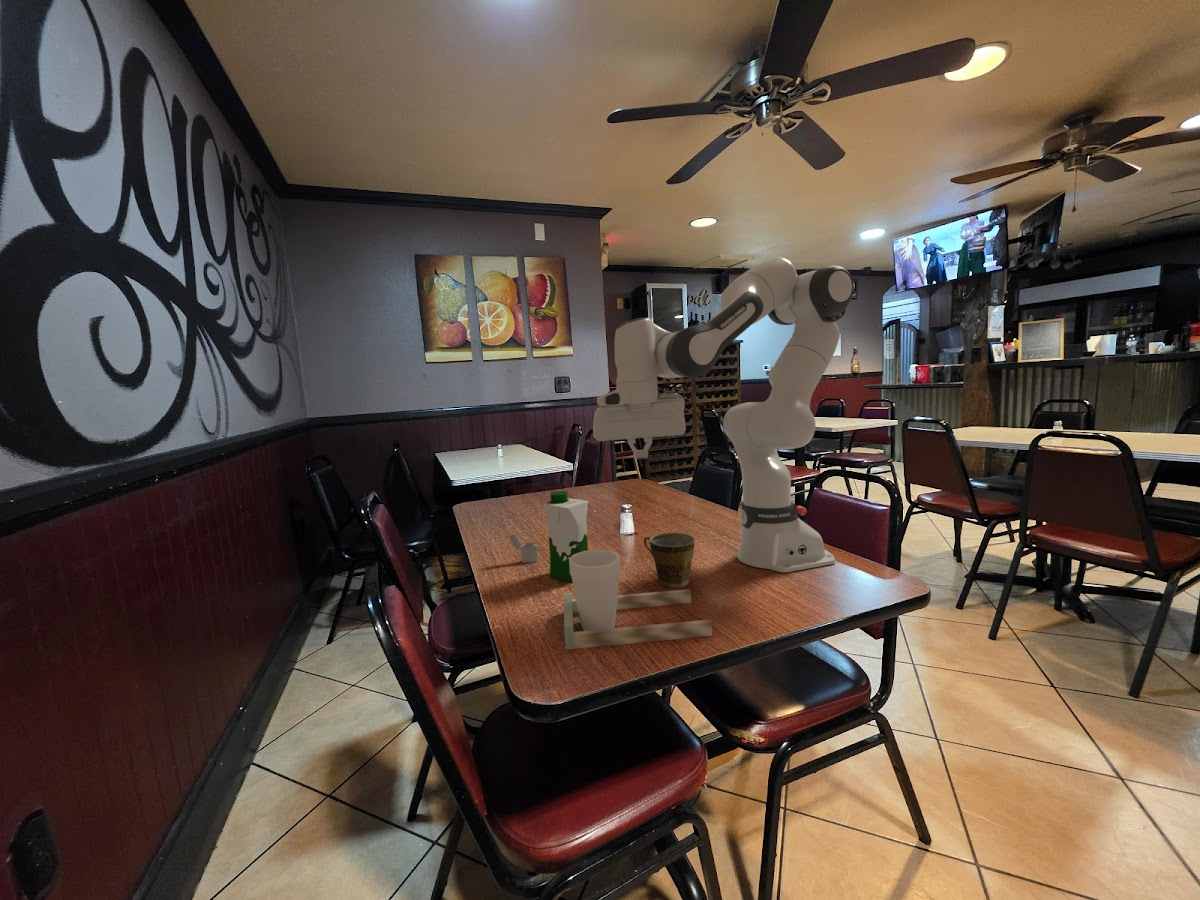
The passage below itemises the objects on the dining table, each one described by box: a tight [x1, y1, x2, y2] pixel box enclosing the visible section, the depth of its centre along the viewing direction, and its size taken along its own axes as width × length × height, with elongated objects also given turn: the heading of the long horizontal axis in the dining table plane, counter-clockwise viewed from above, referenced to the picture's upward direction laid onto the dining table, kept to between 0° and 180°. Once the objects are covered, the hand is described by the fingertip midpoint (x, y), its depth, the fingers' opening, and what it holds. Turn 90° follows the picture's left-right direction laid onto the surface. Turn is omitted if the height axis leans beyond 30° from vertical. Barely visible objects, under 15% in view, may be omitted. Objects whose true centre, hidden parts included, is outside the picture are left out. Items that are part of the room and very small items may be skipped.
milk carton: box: [543, 491, 589, 584], centre depth 110 cm, size 9×9×20 cm
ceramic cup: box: [643, 532, 695, 589], centre depth 104 cm, size 13×10×10 cm
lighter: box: [508, 532, 539, 564], centre depth 121 cm, size 7×2×8 cm, turn 95°
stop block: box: [563, 591, 575, 651], centre depth 85 cm, size 2×14×4 cm, turn 5°
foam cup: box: [569, 549, 622, 631], centre depth 85 cm, size 10×9×13 cm
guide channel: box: [572, 588, 713, 650], centre depth 86 cm, size 24×14×2 cm, turn 95°
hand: (640, 458), depth 102 cm, fingers closed
